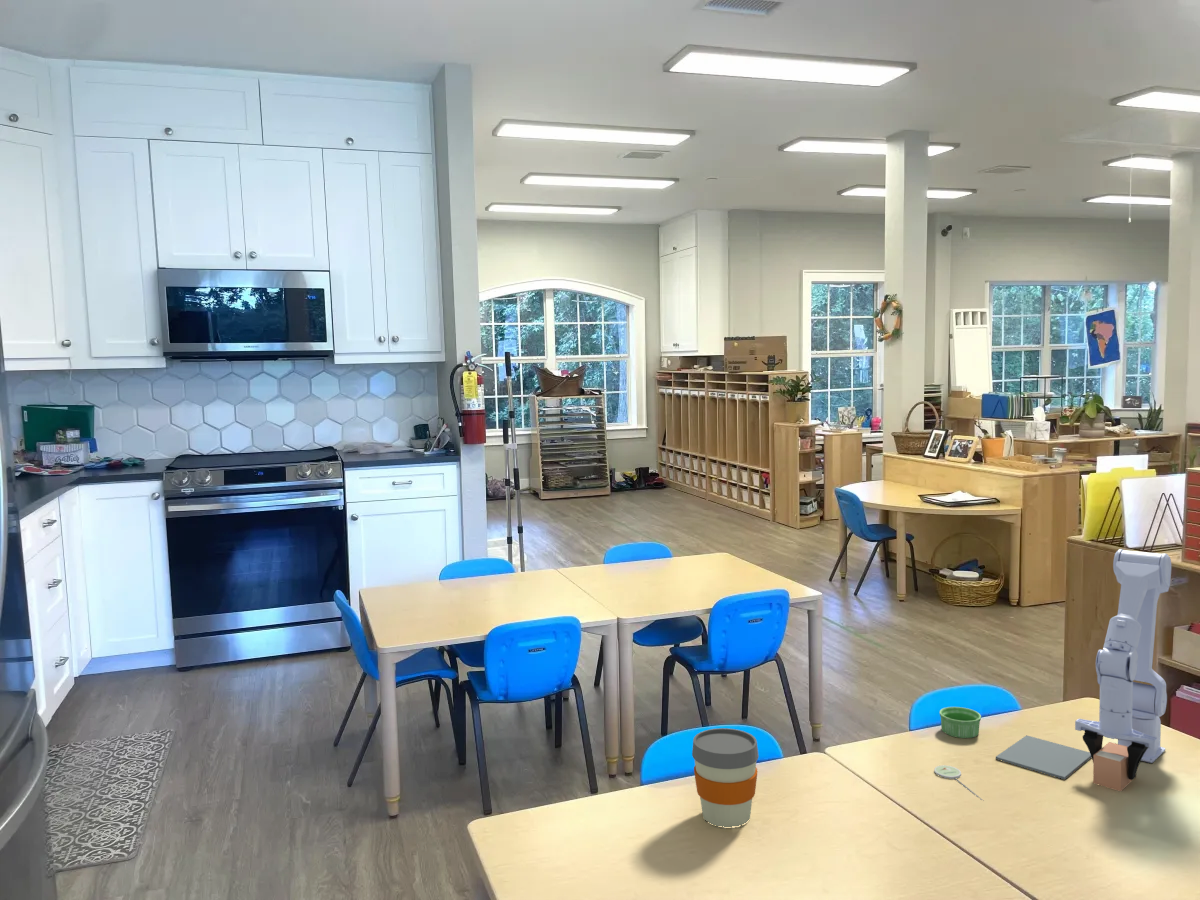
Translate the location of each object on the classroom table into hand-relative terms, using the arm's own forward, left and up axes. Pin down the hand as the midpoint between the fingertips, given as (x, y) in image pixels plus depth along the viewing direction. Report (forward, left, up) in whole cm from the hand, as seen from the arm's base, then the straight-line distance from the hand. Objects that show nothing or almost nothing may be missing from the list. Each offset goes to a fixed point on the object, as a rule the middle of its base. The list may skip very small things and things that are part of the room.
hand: (1114, 773), depth 176 cm
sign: (+23, -21, -2) cm, 31 cm away
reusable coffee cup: (+67, -46, -2) cm, 81 cm away
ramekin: (-2, -33, -2) cm, 33 cm away
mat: (-1, -14, -1) cm, 14 cm away
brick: (0, 0, -2) cm, 2 cm away
